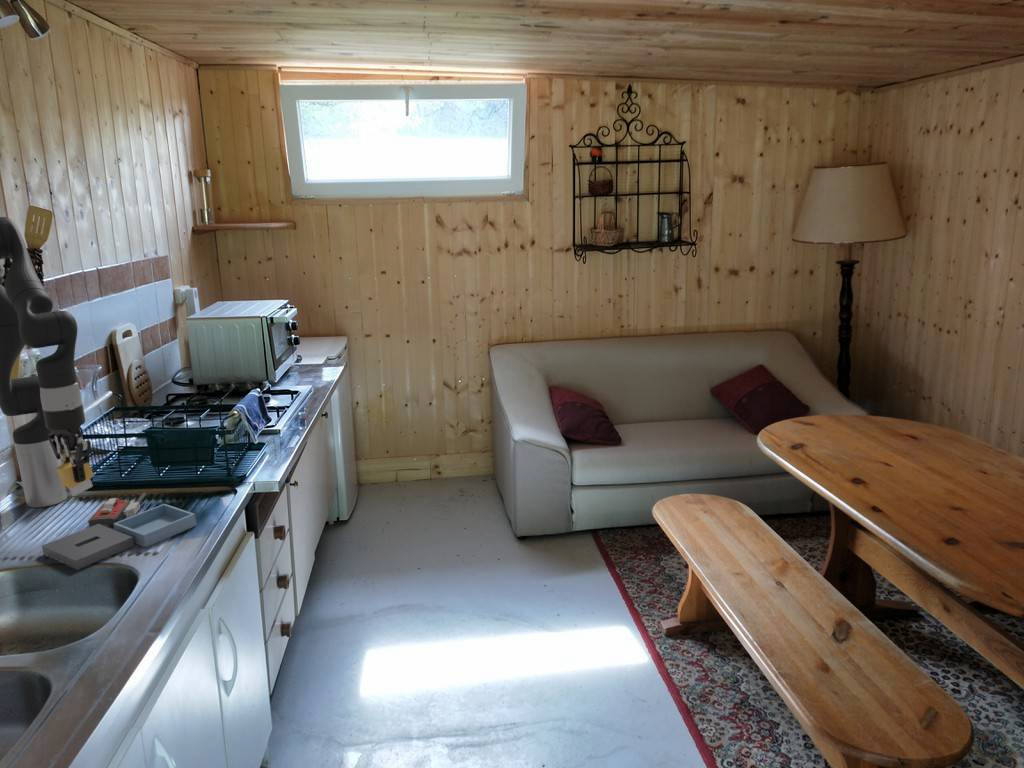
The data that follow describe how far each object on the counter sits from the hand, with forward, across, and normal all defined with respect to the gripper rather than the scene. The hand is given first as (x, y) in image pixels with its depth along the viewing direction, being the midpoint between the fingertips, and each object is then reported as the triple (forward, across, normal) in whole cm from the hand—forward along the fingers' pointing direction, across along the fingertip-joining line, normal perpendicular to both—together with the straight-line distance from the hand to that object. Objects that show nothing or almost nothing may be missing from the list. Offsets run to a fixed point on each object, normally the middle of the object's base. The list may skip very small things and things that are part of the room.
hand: (76, 479), depth 172 cm
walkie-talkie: (+18, -13, +15) cm, 27 cm away
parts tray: (+17, +4, +14) cm, 22 cm away
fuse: (+3, 0, +1) cm, 3 cm away
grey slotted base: (+17, 0, 0) cm, 17 cm away
